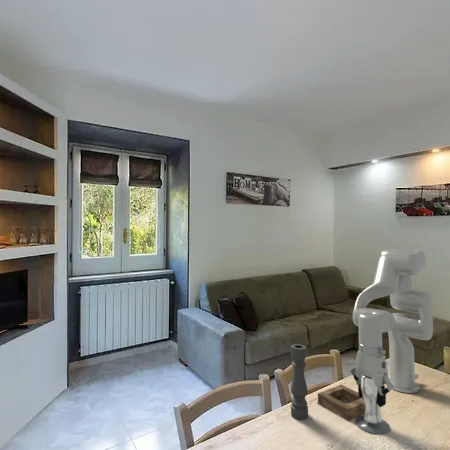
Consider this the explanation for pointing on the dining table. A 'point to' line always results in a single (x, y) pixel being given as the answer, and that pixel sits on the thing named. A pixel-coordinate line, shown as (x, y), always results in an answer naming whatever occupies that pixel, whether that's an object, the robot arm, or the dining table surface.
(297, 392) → the candle holder
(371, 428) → the coaster
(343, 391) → the frame
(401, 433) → the dining table surface
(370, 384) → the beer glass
